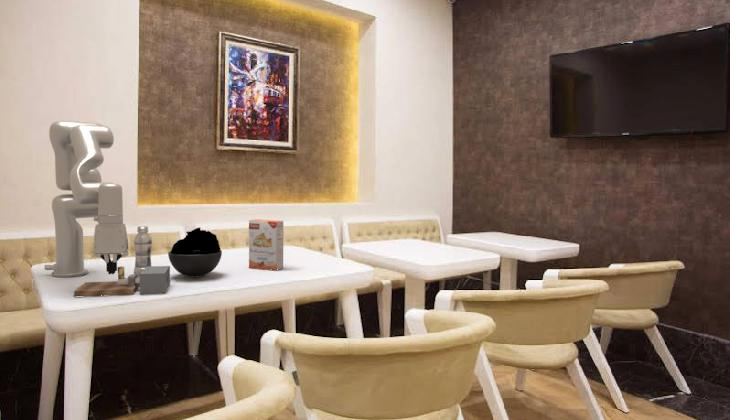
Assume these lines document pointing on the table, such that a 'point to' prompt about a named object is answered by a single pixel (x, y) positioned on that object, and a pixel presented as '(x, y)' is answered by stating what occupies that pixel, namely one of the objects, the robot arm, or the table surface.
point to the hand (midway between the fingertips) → (111, 273)
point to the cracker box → (265, 244)
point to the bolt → (122, 278)
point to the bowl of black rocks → (196, 253)
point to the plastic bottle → (142, 250)
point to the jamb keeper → (154, 280)
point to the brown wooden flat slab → (108, 288)
